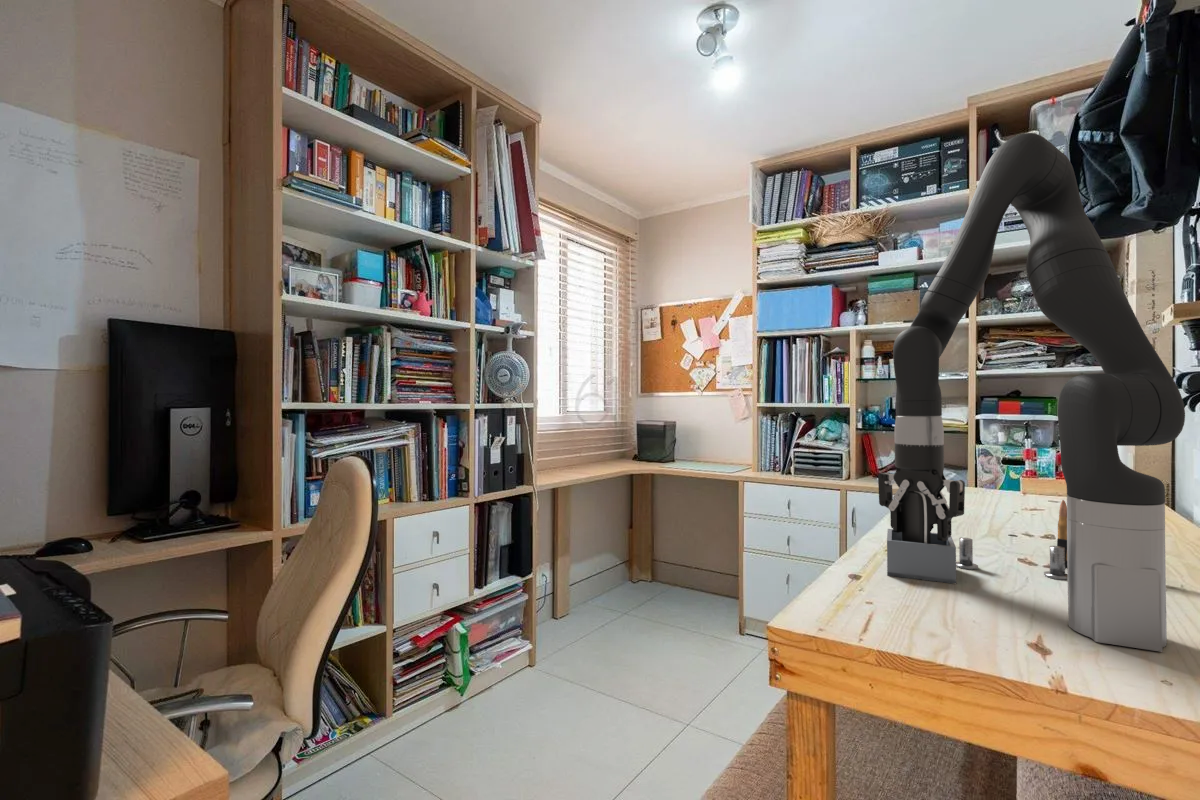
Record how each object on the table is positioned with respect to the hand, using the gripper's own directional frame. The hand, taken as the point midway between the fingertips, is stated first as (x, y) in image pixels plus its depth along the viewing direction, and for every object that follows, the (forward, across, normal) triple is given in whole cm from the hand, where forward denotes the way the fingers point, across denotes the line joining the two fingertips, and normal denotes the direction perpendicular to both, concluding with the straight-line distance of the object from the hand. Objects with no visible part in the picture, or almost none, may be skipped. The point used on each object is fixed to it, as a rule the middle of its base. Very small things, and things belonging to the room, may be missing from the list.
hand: (919, 535), depth 98 cm
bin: (+6, 0, 0) cm, 6 cm away
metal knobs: (+6, -8, -13) cm, 17 cm away
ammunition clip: (+7, -17, -25) cm, 31 cm away
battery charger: (+4, 0, 0) cm, 4 cm away
